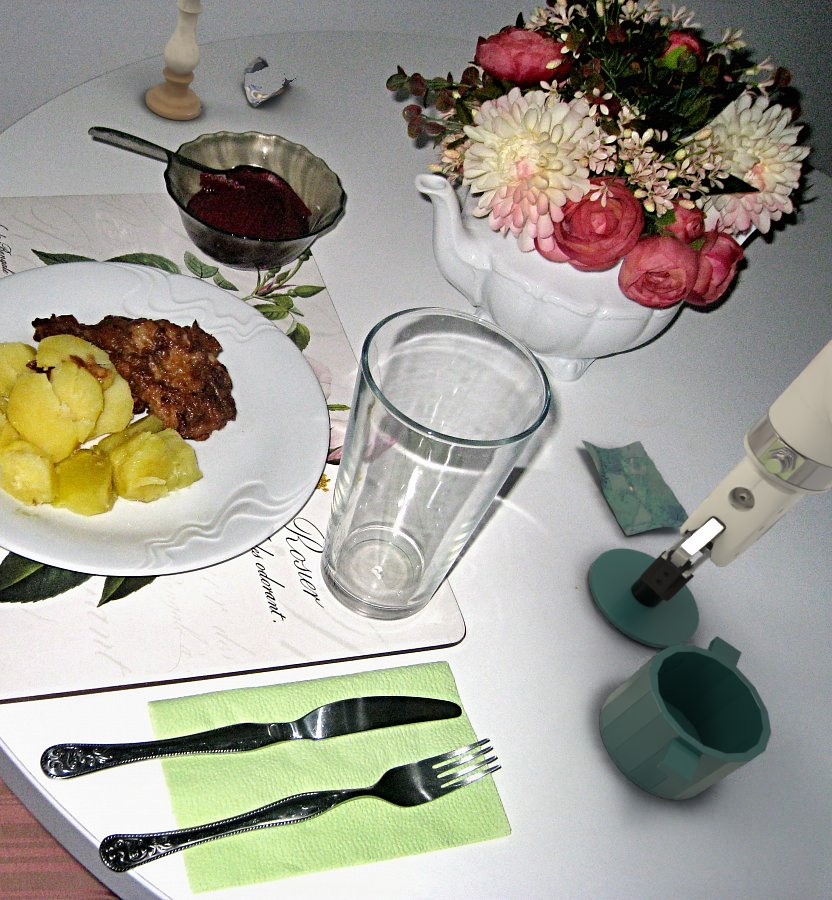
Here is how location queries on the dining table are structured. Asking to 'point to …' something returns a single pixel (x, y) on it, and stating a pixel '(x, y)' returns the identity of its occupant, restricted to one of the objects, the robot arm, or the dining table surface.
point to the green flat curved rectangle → (636, 489)
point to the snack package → (257, 93)
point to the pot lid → (640, 600)
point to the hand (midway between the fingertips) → (681, 567)
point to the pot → (685, 720)
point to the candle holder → (179, 68)
